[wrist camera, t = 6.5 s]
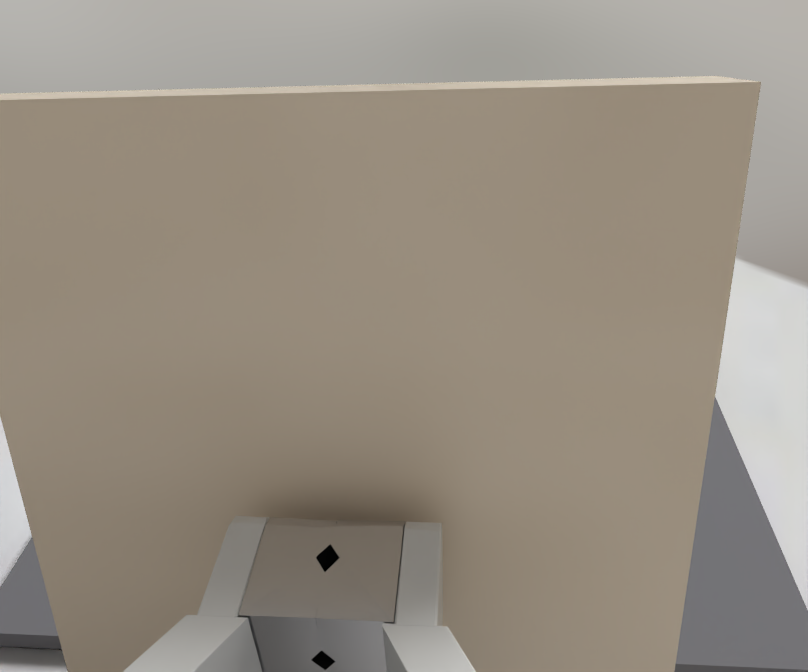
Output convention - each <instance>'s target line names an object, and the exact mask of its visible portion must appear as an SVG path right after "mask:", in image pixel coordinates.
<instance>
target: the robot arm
mask: <svg viewBox="0 0 808 672" xmlns="http://www.w3.org/2000/svg"><path fill="white" fill-rule="evenodd" d="M123 672H476V671H475V669H474V668H473V666H472V665H471V663H470V661H469V660H468V658H467V657H466V655H465V653H464V652H463V650H462V649H461V647H460V645H459V644H458V642H457V640H456V639H455V637H454V636H453V634H452V632H451V631H450V629H449V628H448V627H447V626H443V546H442V523H432V522H406V521H374V520H338V521H329V520H312V519H295V518H278V517H253V516H235V518H234V519H233V520H232V522H231V523H230V524H229V526H228V529H227V532H226V535H225V537H224V540H223V543H222V546H221V549H220V552H219V554H218V557H217V560H216V563H215V566H214V568H213V571H212V574H211V577H210V580H209V582H208V585H207V588H206V591H205V594H204V596H203V599H202V602H201V605H200V608H199V610H198V613H197V615H186V616H185V617H184V618H182V619H181V620H180V621H179V622H178V623H177V624H176V625H175V626H173V627H172V628H171V629H170V630H169V631H168V632H167V633H166V634H164V635H163V636H162V637H161V638H160V639H159V640H158V641H157V642H155V643H154V644H153V645H152V646H151V647H150V648H149V649H148V650H146V651H145V652H144V653H143V654H142V655H141V656H140V657H139V658H138V659H136V660H135V661H134V662H133V663H132V664H131V665H130V666H129V667H127V668H126V669H125V670H124V671H123Z"/></svg>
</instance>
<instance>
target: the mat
mask: <svg viewBox="0 0 808 672" xmlns="http://www.w3.org/2000/svg"><path fill="white" fill-rule="evenodd" d="M0 646H5V647H26V648H48V649H62V648H61V644H60V640H59V636H58V632H57V629H56V625H55V621H54V617H53V614H52V610H51V606H50V602H49V598H48V595H47V591H46V587H45V583H44V579H43V576H42V572H41V568H40V564H39V560H38V557H37V553H36V549H35V545H34V541H33V538H31V540H30V541H29V543H28V545H27V546H26V548H25V549H24V551H23V553H22V554H21V556H20V557H19V559H18V561H17V562H16V564H15V566H14V567H13V569H12V570H11V572H10V574H9V575H8V577H7V578H6V580H5V582H4V583H3V585H2V586H1V588H0ZM674 672H808V610H807V608H806V606H805V604H804V601H803V599H802V597H801V594H800V592H799V590H798V587H797V585H796V583H795V580H794V578H793V576H792V573H791V571H790V569H789V567H788V564H787V562H786V560H785V557H784V555H783V553H782V550H781V548H780V546H779V543H778V541H777V539H776V536H775V534H774V532H773V530H772V527H771V525H770V523H769V520H768V518H767V516H766V513H765V511H764V509H763V506H762V504H761V502H760V499H759V497H758V495H757V493H756V490H755V488H754V486H753V483H752V481H751V479H750V476H749V474H748V472H747V469H746V467H745V465H744V463H743V460H742V458H741V456H740V453H739V451H738V449H737V446H736V444H735V442H734V439H733V437H732V435H731V432H730V430H729V428H728V426H727V423H726V421H725V419H724V416H723V414H722V412H721V409H720V407H719V405H718V402H717V400H716V398H715V399H714V406H713V413H712V419H711V426H710V433H709V440H708V447H707V453H706V460H705V467H704V474H703V481H702V487H701V494H700V501H699V508H698V515H697V521H696V528H695V535H694V542H693V549H692V555H691V562H690V569H689V576H688V583H687V589H686V596H685V603H684V610H683V617H682V623H681V630H680V637H679V644H678V651H677V657H676V664H675V671H674Z"/></svg>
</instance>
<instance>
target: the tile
mask: <svg viewBox="0 0 808 672" xmlns="http://www.w3.org/2000/svg"><path fill="white" fill-rule="evenodd" d="M760 85H761V82H759V81H750V80H743V79H735V78H728V77H720V76H695V77H656V78H615V79H577V80H575V79H574V80H536V81H535V80H534V81H496V82H495V81H493V82H454V83H453V82H452V83H413V84H371V85H336V86H335V85H331V86H290V87H252V88H251V87H250V88H211V89H169V90H131V91H130V90H128V91H88V92H47V93H7V94H0V416H1V420H2V424H3V428H4V431H5V435H6V439H7V443H8V446H9V450H10V454H11V458H12V462H13V465H14V469H15V473H16V477H17V481H18V484H19V488H20V492H21V496H22V500H23V503H24V507H25V511H26V515H27V519H28V522H29V526H30V530H31V534H32V538H33V541H34V545H35V549H36V553H37V557H38V560H39V564H40V568H41V572H42V576H43V579H44V583H45V587H46V591H47V595H48V598H49V602H50V606H51V610H52V614H53V617H54V621H55V625H56V629H57V632H58V636H59V640H60V644H61V648H62V651H63V655H64V659H65V663H66V667H67V670H68V672H123V671H124V670H125V669H126V668H127V667H129V666H130V665H131V664H132V663H133V662H134V661H135V660H136V659H138V658H139V657H140V656H141V655H142V654H143V653H144V652H145V651H146V650H148V649H149V648H150V647H151V646H152V645H153V644H154V643H155V642H157V641H158V640H159V639H160V638H161V637H162V636H163V635H164V634H166V633H167V632H168V631H169V630H170V629H171V628H172V627H173V626H175V625H176V624H177V623H178V622H179V621H180V620H181V619H182V618H184V617H185V616H186V615H197V613H198V610H199V608H200V605H201V602H202V599H203V596H204V594H205V591H206V588H207V585H208V582H209V580H210V577H211V574H212V571H213V568H214V566H215V563H216V560H217V557H218V554H219V552H220V549H221V546H222V543H223V540H224V537H225V535H226V532H227V529H228V526H229V524H230V523H231V522H232V520H233V519H234V518H235V516H253V517H278V518H295V519H312V520H329V521H338V520H374V521H406V522H432V523H442V546H443V626H447V627H448V628H449V629H450V631H451V632H452V634H453V636H454V637H455V639H456V640H457V642H458V644H459V645H460V647H461V649H462V650H463V652H464V653H465V655H466V657H467V658H468V660H469V661H470V663H471V665H472V666H473V668H474V669H475V671H476V672H674V671H675V664H676V657H677V651H678V644H679V637H680V630H681V623H682V617H683V610H684V603H685V596H686V589H687V583H688V576H689V569H690V562H691V555H692V549H693V542H694V535H695V528H696V521H697V515H698V508H699V501H700V494H701V487H702V481H703V474H704V467H705V460H706V453H707V447H708V440H709V433H710V426H711V419H712V413H713V406H714V399H715V392H716V385H717V379H718V372H719V365H720V358H721V351H722V345H723V338H724V331H725V324H726V317H727V311H728V304H729V297H730V290H731V283H732V276H733V270H734V263H735V256H736V249H737V242H738V235H739V229H740V222H741V215H742V208H743V202H744V195H745V188H746V181H747V174H748V168H749V161H750V154H751V147H752V140H753V134H754V126H755V120H756V113H757V106H758V100H759V92H760Z"/></svg>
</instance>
